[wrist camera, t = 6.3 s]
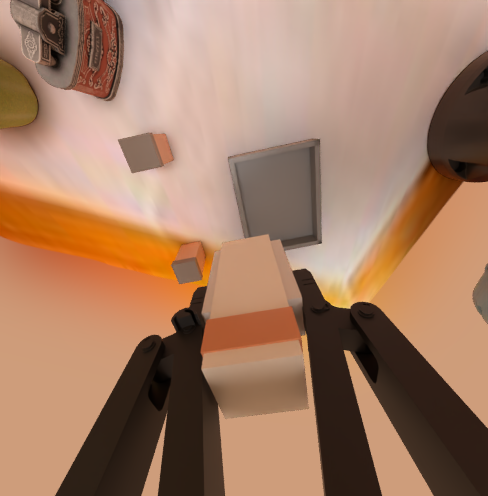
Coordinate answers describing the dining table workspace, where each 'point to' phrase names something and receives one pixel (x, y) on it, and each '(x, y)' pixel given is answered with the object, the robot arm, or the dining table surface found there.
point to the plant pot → (15, 98)
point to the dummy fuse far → (189, 263)
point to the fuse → (252, 335)
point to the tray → (280, 193)
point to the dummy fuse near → (146, 151)
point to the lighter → (73, 43)
